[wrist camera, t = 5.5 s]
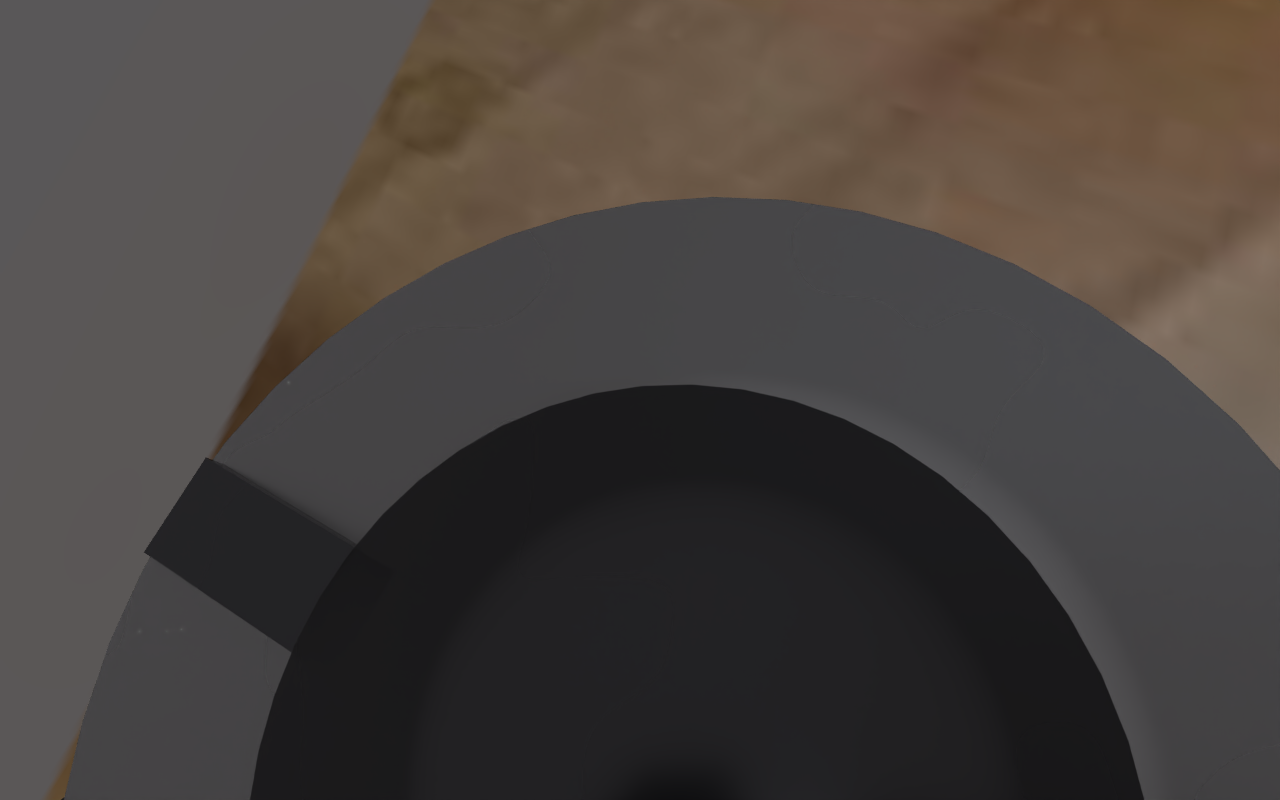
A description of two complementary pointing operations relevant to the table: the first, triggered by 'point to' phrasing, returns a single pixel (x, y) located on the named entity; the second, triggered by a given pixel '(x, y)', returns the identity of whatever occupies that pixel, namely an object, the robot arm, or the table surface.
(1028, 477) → the silver metal cylinder
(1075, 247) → the table surface
